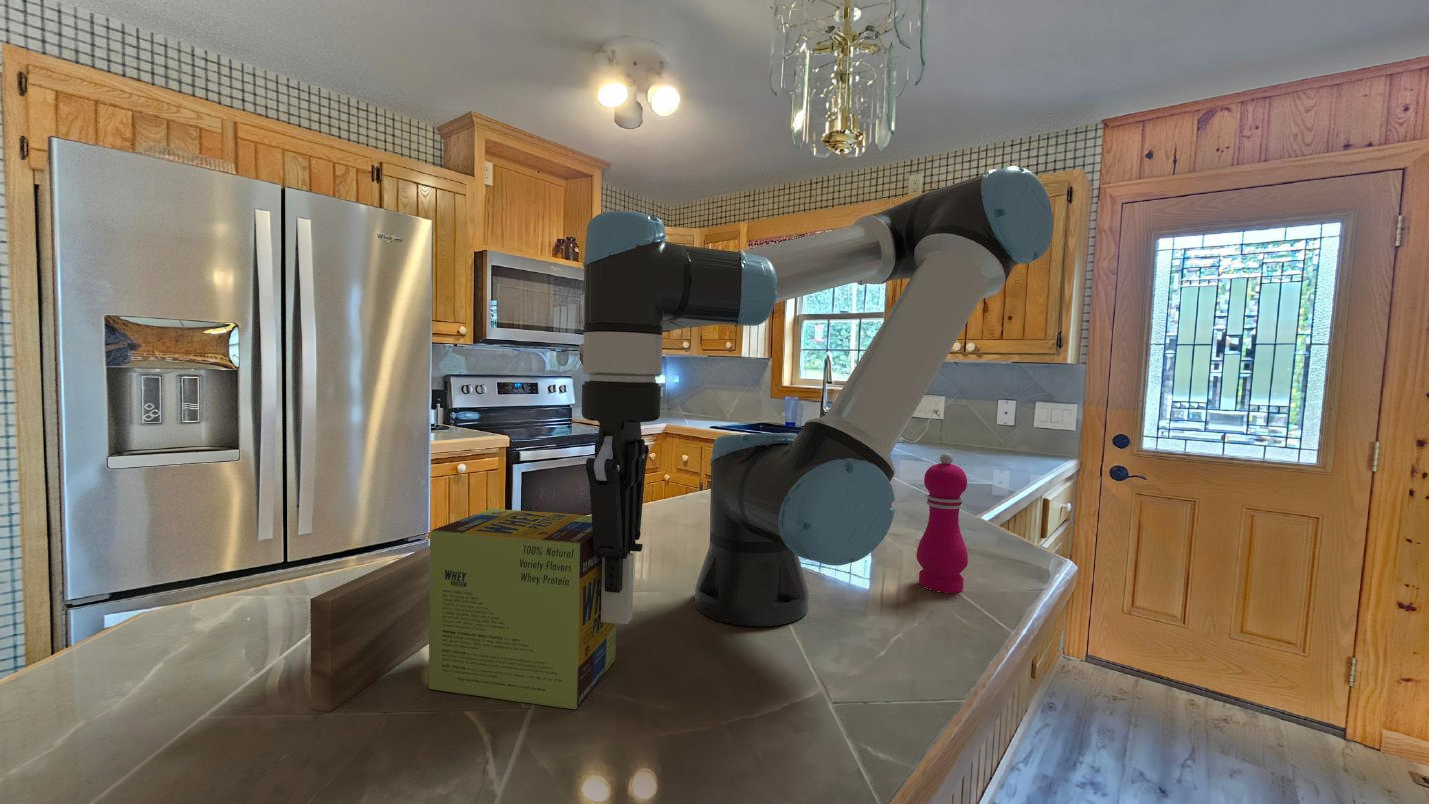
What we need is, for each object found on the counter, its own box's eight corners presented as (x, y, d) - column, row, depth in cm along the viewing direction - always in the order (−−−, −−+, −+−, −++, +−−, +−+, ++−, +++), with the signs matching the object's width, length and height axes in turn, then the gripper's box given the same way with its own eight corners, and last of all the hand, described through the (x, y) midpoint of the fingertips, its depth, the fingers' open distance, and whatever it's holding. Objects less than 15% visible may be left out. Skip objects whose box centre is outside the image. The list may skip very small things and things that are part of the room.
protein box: (578, 711, 56) (581, 542, 56) (426, 690, 59) (426, 529, 58) (618, 659, 67) (620, 516, 66) (486, 644, 70) (487, 506, 69)
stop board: (457, 622, 75) (458, 540, 75) (330, 711, 55) (330, 600, 55) (442, 621, 75) (443, 539, 75) (310, 709, 56) (310, 598, 55)
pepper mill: (976, 589, 92) (983, 454, 91) (946, 598, 88) (953, 457, 87) (935, 575, 98) (940, 449, 97) (905, 583, 94) (910, 451, 93)
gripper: (606, 378, 67) (601, 593, 68) (558, 378, 54) (553, 644, 55) (674, 380, 66) (668, 599, 67) (642, 381, 53) (635, 652, 54)
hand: (616, 619), depth 61 cm, fingers closed
